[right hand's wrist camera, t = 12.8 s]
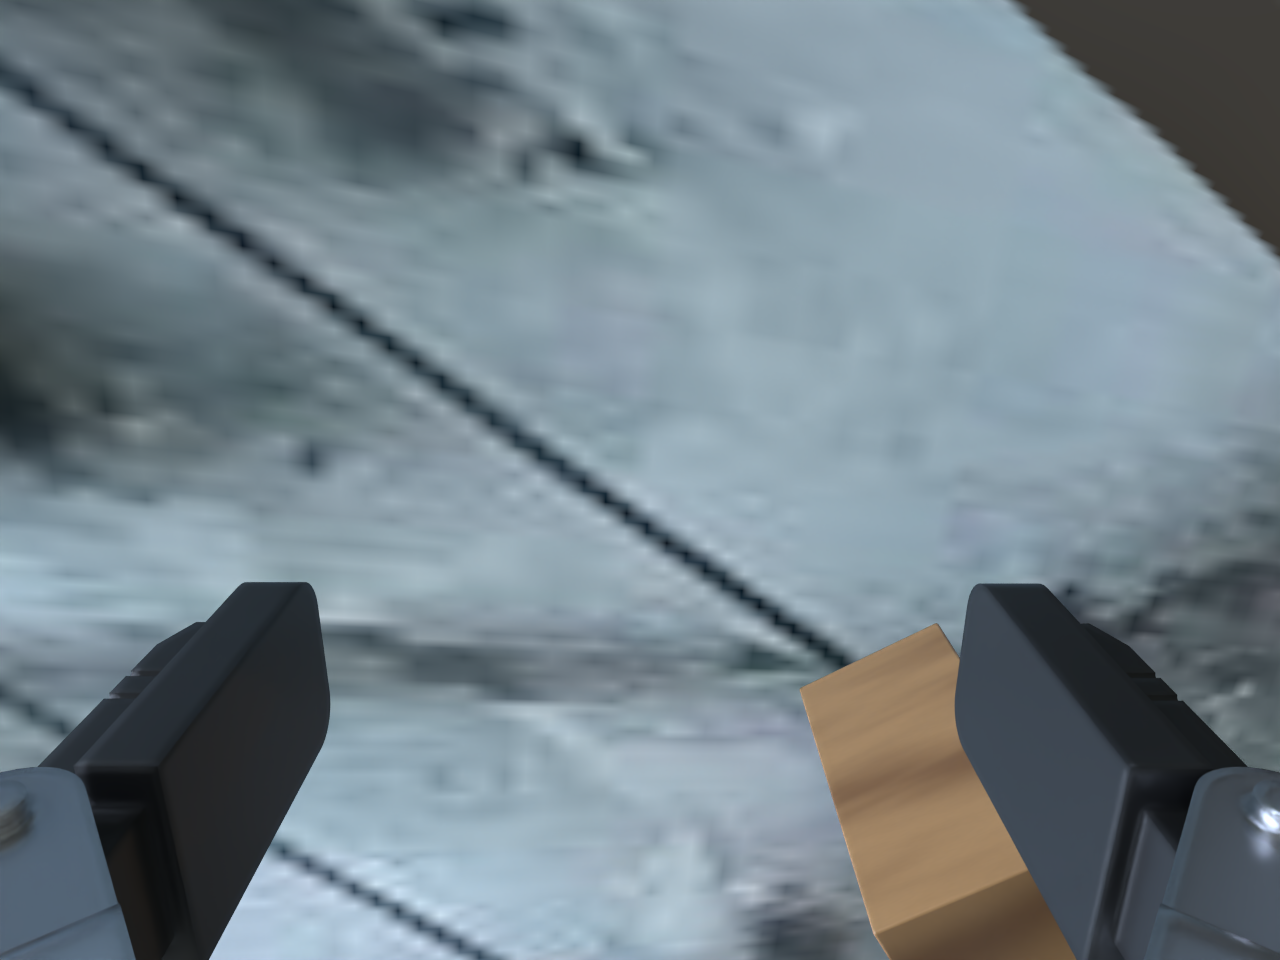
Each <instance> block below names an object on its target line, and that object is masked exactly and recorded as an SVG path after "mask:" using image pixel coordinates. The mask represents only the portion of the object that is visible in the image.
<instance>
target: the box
mask: <svg viewBox="0 0 1280 960" xmlns="http://www.w3.org/2000/svg"><path fill="white" fill-rule="evenodd" d="M959 662H960V657H959V656H958V654H957V653H956V651H955V650H954V648H953V646H952V645H951V643H950V642H949V640H948V639H947V637H946V636H945V634H944V632H943V631H942V629H941V628H940V626H939V625H938V624H937V623H936V624H933V625H931V626H929V627H927V628H925V629H923V630H921V631H919V632H917V633H914V634H912V635H910V636H908V637H906V638H904V639H902V640H900V641H898V642H896V643H894V644H891V645H889V646H887V647H885V648H883V649H881V650H879V651H877V652H875V653H873V654H871V655H869V656H866V657H864V658H862V659H860V660H858V661H856V662H854V663H852V664H850V665H848V666H846V667H843V668H841V669H839V670H837V671H835V672H833V673H831V674H829V675H827V676H825V677H823V678H820V679H818V680H816V681H814V682H812V683H810V684H808V685H806V686H804V687H802V688H800V693H801V696H802V699H803V703H804V706H805V709H806V713H807V716H808V719H809V723H810V726H811V729H812V732H813V736H814V739H815V742H816V746H817V749H818V752H819V756H820V759H821V762H822V765H823V769H824V772H825V775H826V779H827V782H828V785H829V789H830V792H831V795H832V798H833V802H834V805H835V808H836V812H837V815H838V818H839V822H840V825H841V828H842V831H843V835H844V838H845V841H846V845H847V848H848V851H849V855H850V858H851V861H852V864H853V868H854V871H855V874H856V878H857V881H858V884H859V888H860V891H861V894H862V897H863V901H864V904H865V907H866V911H867V914H868V917H869V921H870V924H871V927H872V930H873V934H874V935H875V937H876V939H877V940H878V942H879V943H880V945H881V946H882V948H883V950H884V951H885V953H886V954H887V956H888V958H889V959H890V960H1076V958H1075V956H1074V954H1073V952H1072V950H1071V948H1070V947H1069V945H1068V943H1067V941H1066V939H1065V937H1064V935H1063V934H1062V932H1061V930H1060V928H1059V926H1058V924H1057V922H1056V921H1055V919H1054V917H1053V915H1052V913H1051V911H1050V909H1049V908H1048V906H1047V904H1046V902H1045V900H1044V898H1043V896H1042V895H1041V893H1040V891H1039V889H1038V887H1037V885H1036V883H1035V882H1034V880H1033V878H1032V876H1031V874H1030V872H1029V870H1028V869H1027V867H1026V865H1025V863H1024V861H1023V859H1022V857H1021V856H1020V854H1019V852H1018V850H1017V848H1016V846H1015V844H1014V843H1013V841H1012V839H1011V837H1010V835H1009V833H1008V831H1007V830H1006V828H1005V826H1004V824H1003V822H1002V820H1001V818H1000V817H999V815H998V813H997V811H996V809H995V807H994V805H993V804H992V802H991V800H990V798H989V796H988V794H987V792H986V791H985V789H984V787H983V785H982V783H981V781H980V779H979V778H978V776H977V774H976V772H975V770H974V768H973V766H972V765H971V763H970V761H969V759H968V757H967V755H966V753H965V752H964V750H963V748H962V745H961V743H960V740H959V736H958V732H957V727H956V721H955V691H956V684H957V676H958V669H959Z"/></svg>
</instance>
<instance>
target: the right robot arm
mask: <svg viewBox="0 0 1280 960" xmlns="http://www.w3.org/2000/svg"><path fill="white" fill-rule="evenodd" d="M329 717H330V691H329V684H328V676H327V669H326V662H325V654H324V647H323V640H322V632H321V625H320V618H319V610H318V604H317V598H316V595H315V592H314V590H313V588H312V586H311V585H310V584H309V583H307V582H245V583H242V584H241V585H240V586H239V587H238V588H237V589H236V590H235V591H234V592H233V593H232V594H231V595H230V596H229V597H228V598H227V600H226V601H225V602H224V603H223V604H222V605H221V606H220V607H219V608H218V609H217V610H216V611H215V613H214V614H213V615H212V616H211V617H210V618H209V619H208V620H207V621H206V622H196V623H194V624H192V625H190V626H189V627H187V628H185V629H183V630H182V631H180V632H178V633H176V634H175V635H173V636H171V637H169V638H168V639H166V640H164V641H162V642H161V643H159V644H157V645H156V646H155V647H154V648H153V649H152V650H151V651H150V652H149V653H148V654H147V655H146V656H145V657H144V658H143V659H142V660H141V661H140V662H139V663H138V664H137V665H136V666H135V668H134V669H133V670H132V671H131V676H126V677H125V678H124V679H123V680H122V681H121V682H120V683H119V684H118V685H117V686H116V687H115V688H114V689H113V690H112V691H111V692H110V697H109V699H103V700H102V701H101V702H100V703H99V704H98V705H97V706H96V708H95V709H94V710H93V711H92V712H91V713H90V714H89V715H88V716H87V717H86V718H85V719H84V720H83V721H82V722H81V723H80V724H79V725H78V726H77V727H76V728H75V729H74V730H73V731H72V732H71V733H70V734H69V735H68V736H67V737H66V738H65V739H64V740H63V741H62V742H61V743H60V744H59V745H58V747H57V748H56V749H55V750H54V751H53V752H52V753H51V754H50V755H49V756H48V757H47V758H46V759H45V760H44V761H43V762H42V763H41V764H40V765H39V766H38V767H30V768H21V769H15V770H10V771H5V772H1V773H0V960H209V958H210V956H211V955H212V953H213V951H214V949H215V947H216V945H217V943H218V941H219V940H220V938H221V936H222V934H223V932H224V930H225V928H226V926H227V924H228V923H229V921H230V919H231V917H232V915H233V913H234V911H235V909H236V908H237V906H238V904H239V902H240V900H241V898H242V896H243V894H244V893H245V891H246V889H247V887H248V885H249V883H250V881H251V879H252V877H253V876H254V874H255V872H256V870H257V868H258V866H259V864H260V862H261V861H262V859H263V857H264V855H265V853H266V851H267V849H268V847H269V846H270V844H271V842H272V840H273V838H274V836H275V834H276V832H277V830H278V829H279V827H280V825H281V823H282V821H283V819H284V817H285V815H286V814H287V812H288V810H289V808H290V806H291V804H292V802H293V800H294V798H295V797H296V795H297V793H298V791H299V789H300V787H301V785H302V783H303V782H304V780H305V778H306V776H307V774H308V772H309V770H310V768H311V767H312V765H313V763H314V761H315V759H316V757H317V755H318V753H319V751H320V750H321V748H322V745H323V743H324V740H325V737H326V734H327V729H328V724H329ZM955 721H956V727H957V732H958V736H959V740H960V743H961V745H962V748H963V750H964V752H965V753H966V755H967V757H968V759H969V761H970V763H971V765H972V766H973V768H974V770H975V772H976V774H977V776H978V778H979V779H980V781H981V783H982V785H983V787H984V789H985V791H986V792H987V794H988V796H989V798H990V800H991V802H992V804H993V805H994V807H995V809H996V811H997V813H998V815H999V817H1000V818H1001V820H1002V822H1003V824H1004V826H1005V828H1006V830H1007V831H1008V833H1009V835H1010V837H1011V839H1012V841H1013V843H1014V844H1015V846H1016V848H1017V850H1018V852H1019V854H1020V856H1021V857H1022V859H1023V861H1024V863H1025V865H1026V867H1027V869H1028V870H1029V872H1030V874H1031V876H1032V878H1033V880H1034V882H1035V883H1036V885H1037V887H1038V889H1039V891H1040V893H1041V895H1042V896H1043V898H1044V900H1045V902H1046V904H1047V906H1048V908H1049V909H1050V911H1051V913H1052V915H1053V917H1054V919H1055V921H1056V922H1057V924H1058V926H1059V928H1060V930H1061V932H1062V934H1063V935H1064V937H1065V939H1066V941H1067V943H1068V945H1069V947H1070V948H1071V950H1072V952H1073V954H1074V956H1075V958H1076V960H1280V773H1279V772H1275V771H1270V770H1265V769H1259V768H1250V767H1247V766H1246V765H1245V764H1244V762H1243V761H1242V760H1241V759H1240V758H1239V757H1238V756H1237V755H1236V754H1235V753H1234V752H1233V751H1232V750H1231V749H1230V748H1229V747H1228V746H1227V745H1226V744H1225V743H1224V742H1223V741H1222V740H1221V739H1220V738H1219V737H1218V736H1217V735H1216V734H1215V733H1214V732H1213V731H1212V730H1211V729H1210V728H1209V727H1208V726H1207V725H1206V724H1205V723H1204V722H1203V721H1202V720H1201V719H1200V718H1199V717H1198V716H1197V715H1196V714H1195V713H1194V712H1193V711H1192V710H1191V709H1190V708H1189V707H1188V706H1187V705H1186V704H1185V703H1184V701H1178V700H1177V694H1176V693H1175V692H1174V691H1173V690H1172V689H1171V688H1170V687H1169V686H1168V685H1167V684H1166V683H1165V682H1164V681H1163V680H1162V679H1161V678H1156V677H1155V672H1154V671H1153V670H1152V669H1151V668H1150V667H1149V666H1148V665H1147V664H1146V663H1145V662H1144V661H1143V660H1142V659H1141V658H1140V657H1139V656H1138V655H1137V654H1136V653H1135V652H1134V651H1133V650H1132V649H1131V648H1130V647H1129V646H1128V645H1126V644H1124V643H1123V642H1121V641H1119V640H1117V639H1115V638H1114V637H1112V636H1110V635H1108V634H1107V633H1105V632H1103V631H1101V630H1100V629H1098V628H1096V627H1094V626H1093V625H1091V624H1080V623H1079V622H1078V621H1077V620H1076V619H1075V617H1074V616H1073V615H1072V614H1071V613H1070V612H1069V611H1068V610H1067V609H1066V608H1065V607H1064V606H1063V605H1062V603H1061V602H1060V601H1059V600H1058V599H1057V598H1056V597H1055V596H1054V595H1053V594H1052V593H1051V592H1050V591H1049V589H1048V588H1047V587H1045V586H1044V585H1042V584H977V585H976V586H975V587H974V588H973V589H972V591H971V593H970V596H969V600H968V605H967V612H966V619H965V626H964V633H963V640H962V648H961V655H960V662H959V669H958V676H957V684H956V691H955Z"/></svg>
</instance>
